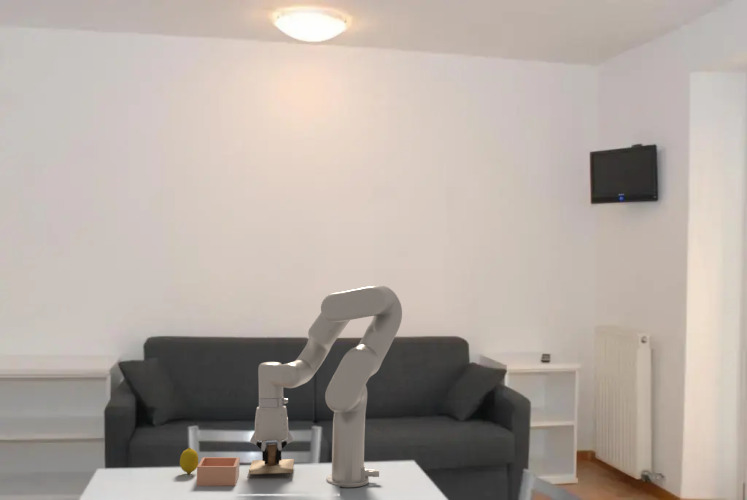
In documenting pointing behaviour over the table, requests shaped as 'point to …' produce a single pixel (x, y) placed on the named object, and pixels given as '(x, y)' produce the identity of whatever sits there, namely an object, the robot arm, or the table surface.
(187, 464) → the lemon
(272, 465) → the lid
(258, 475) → the mat
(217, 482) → the pink open box
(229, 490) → the table surface
